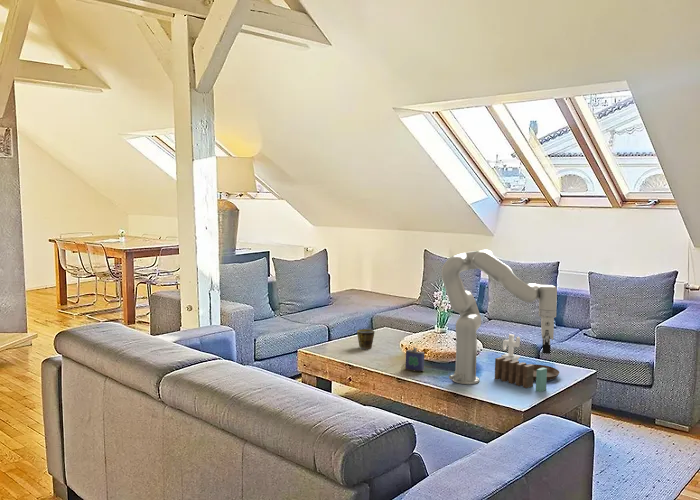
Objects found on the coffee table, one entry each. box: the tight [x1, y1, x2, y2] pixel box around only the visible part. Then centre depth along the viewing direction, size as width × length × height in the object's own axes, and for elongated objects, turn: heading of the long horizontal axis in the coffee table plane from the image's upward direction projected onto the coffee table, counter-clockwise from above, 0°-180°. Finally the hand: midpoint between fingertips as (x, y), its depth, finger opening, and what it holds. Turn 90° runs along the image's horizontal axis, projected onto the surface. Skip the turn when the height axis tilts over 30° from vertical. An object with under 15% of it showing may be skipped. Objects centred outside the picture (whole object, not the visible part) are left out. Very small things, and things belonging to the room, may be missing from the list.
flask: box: [404, 347, 425, 372], centre depth 314 cm, size 10×3×12 cm, turn 60°
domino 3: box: [507, 360, 520, 385], centre depth 296 cm, size 2×5×10 cm, turn 129°
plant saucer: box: [526, 363, 560, 382], centre depth 308 cm, size 21×21×3 cm
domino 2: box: [500, 359, 512, 383], centre depth 299 cm, size 2×5×10 cm, turn 129°
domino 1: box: [494, 356, 505, 381], centre depth 302 cm, size 2×5×10 cm, turn 129°
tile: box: [535, 368, 548, 393], centre depth 285 cm, size 2×5×10 cm, turn 129°
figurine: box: [500, 333, 521, 361], centre depth 331 cm, size 7×9×15 cm
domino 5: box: [522, 363, 534, 389], centre depth 290 cm, size 2×5×10 cm, turn 129°
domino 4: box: [515, 361, 527, 387], centre depth 293 cm, size 2×5×10 cm, turn 129°
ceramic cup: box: [356, 328, 375, 351], centre depth 357 cm, size 13×10×10 cm
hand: (546, 350), depth 282 cm, fingers open, 9 cm apart
